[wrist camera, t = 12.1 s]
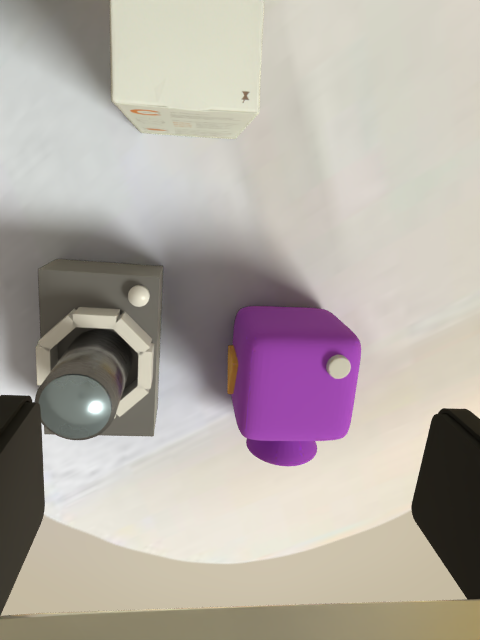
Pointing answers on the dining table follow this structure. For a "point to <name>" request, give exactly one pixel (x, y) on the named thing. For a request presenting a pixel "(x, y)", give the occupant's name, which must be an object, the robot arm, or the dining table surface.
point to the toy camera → (291, 380)
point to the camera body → (106, 327)
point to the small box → (187, 65)
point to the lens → (85, 385)
